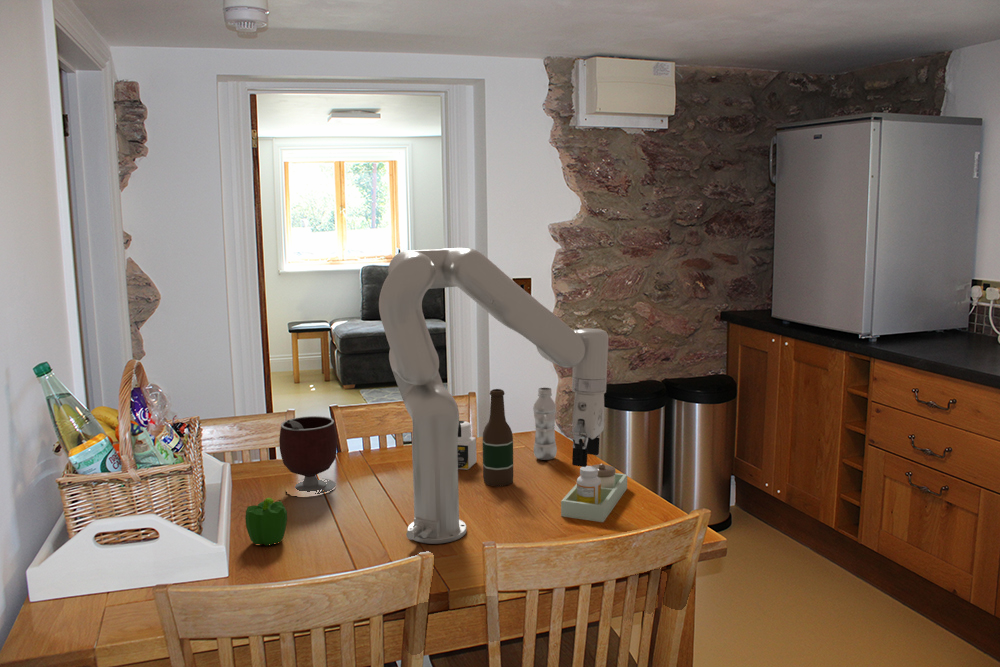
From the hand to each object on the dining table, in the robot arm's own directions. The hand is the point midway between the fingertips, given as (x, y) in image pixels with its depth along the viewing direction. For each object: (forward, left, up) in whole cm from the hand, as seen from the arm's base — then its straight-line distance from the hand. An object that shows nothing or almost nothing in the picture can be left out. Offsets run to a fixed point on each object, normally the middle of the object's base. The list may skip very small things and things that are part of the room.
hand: (585, 459), depth 169 cm
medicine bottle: (+22, +42, -13) cm, 49 cm away
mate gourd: (-9, +69, -13) cm, 71 cm away
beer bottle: (+13, +27, -13) cm, 32 cm away
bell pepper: (-38, +58, -13) cm, 70 cm away
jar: (+11, -1, -12) cm, 16 cm away
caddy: (+6, -1, -13) cm, 14 cm away
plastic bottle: (+35, +22, -13) cm, 43 cm away
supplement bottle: (0, -1, -12) cm, 12 cm away
